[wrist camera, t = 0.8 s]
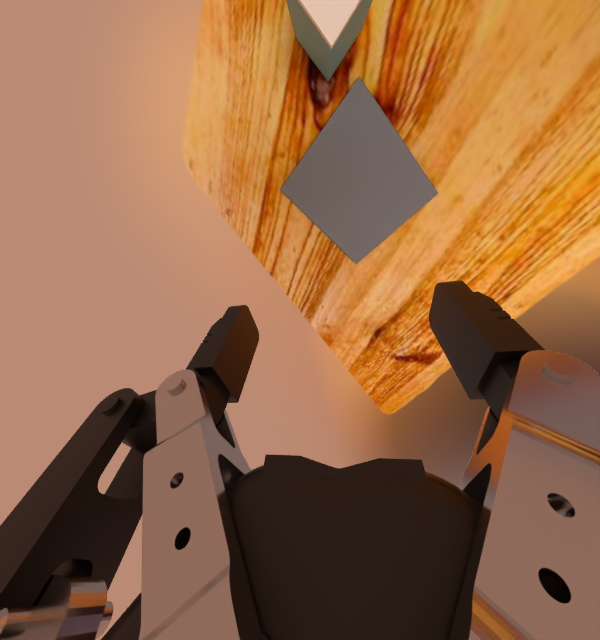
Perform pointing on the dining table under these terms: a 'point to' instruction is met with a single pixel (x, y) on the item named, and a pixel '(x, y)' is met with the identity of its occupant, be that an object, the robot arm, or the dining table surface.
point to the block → (327, 29)
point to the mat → (358, 177)
